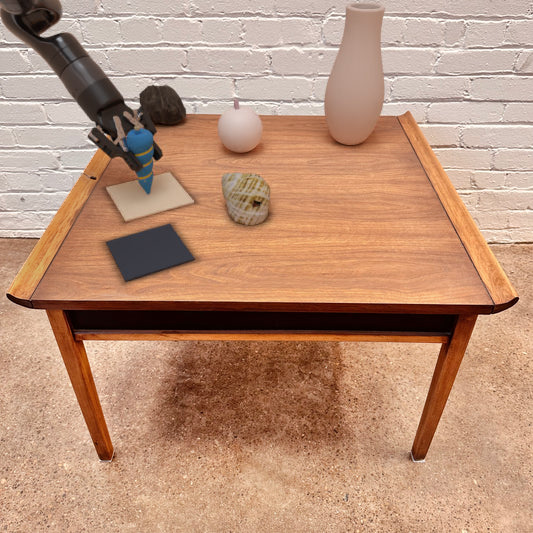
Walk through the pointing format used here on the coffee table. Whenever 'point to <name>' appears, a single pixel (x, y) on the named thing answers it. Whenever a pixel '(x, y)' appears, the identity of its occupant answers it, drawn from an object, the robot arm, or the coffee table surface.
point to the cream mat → (149, 197)
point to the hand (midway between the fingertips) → (150, 163)
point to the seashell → (246, 197)
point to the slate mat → (148, 252)
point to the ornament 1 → (142, 154)
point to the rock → (162, 104)
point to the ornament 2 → (240, 128)
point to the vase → (356, 76)
